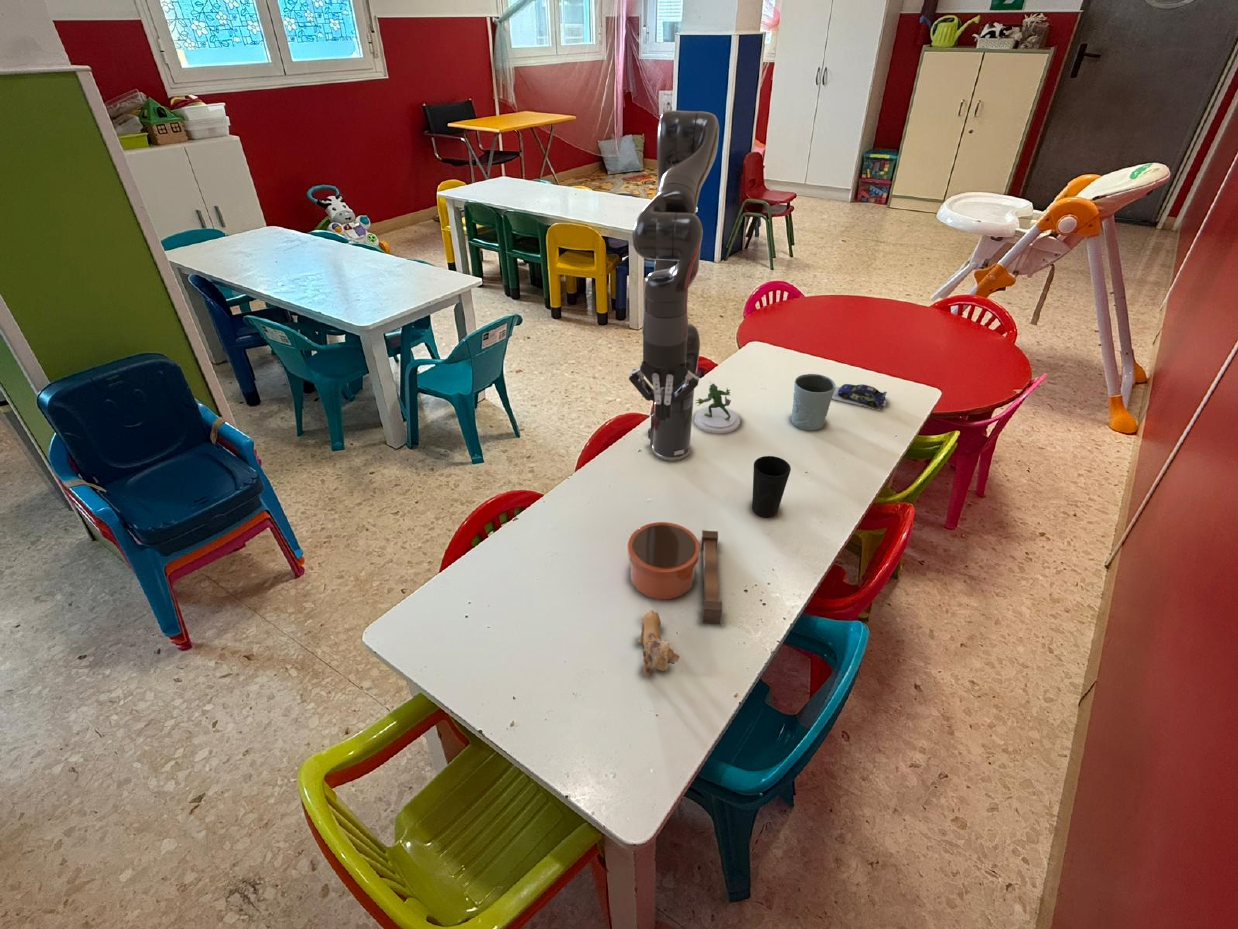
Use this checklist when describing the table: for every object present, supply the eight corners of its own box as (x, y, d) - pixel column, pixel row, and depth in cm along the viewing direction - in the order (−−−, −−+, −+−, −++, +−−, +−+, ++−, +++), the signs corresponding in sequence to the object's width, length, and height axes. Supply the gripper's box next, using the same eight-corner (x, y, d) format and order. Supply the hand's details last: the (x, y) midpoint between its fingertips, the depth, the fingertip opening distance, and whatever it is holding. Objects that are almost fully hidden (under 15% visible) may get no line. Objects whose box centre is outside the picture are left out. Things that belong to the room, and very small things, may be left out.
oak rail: (720, 624, 115) (722, 610, 112) (702, 622, 115) (704, 608, 113) (716, 544, 131) (717, 531, 129) (700, 543, 131) (702, 530, 129)
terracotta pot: (630, 604, 118) (631, 573, 114) (624, 553, 129) (624, 523, 125) (702, 599, 119) (705, 569, 114) (690, 549, 130) (693, 519, 125)
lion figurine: (679, 687, 104) (683, 652, 99) (648, 693, 103) (650, 659, 98) (655, 618, 116) (657, 584, 110) (627, 624, 115) (627, 590, 109)
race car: (828, 398, 179) (831, 384, 177) (833, 388, 184) (837, 374, 181) (883, 411, 174) (887, 397, 171) (887, 400, 178) (891, 386, 176)
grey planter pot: (831, 419, 170) (840, 379, 163) (819, 436, 164) (828, 396, 157) (795, 408, 175) (802, 369, 168) (782, 425, 168) (789, 385, 161)
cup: (782, 523, 137) (791, 479, 129) (746, 518, 138) (753, 474, 131) (782, 501, 143) (790, 457, 136) (747, 496, 144) (754, 453, 137)
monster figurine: (720, 405, 177) (724, 372, 170) (748, 425, 168) (753, 391, 162) (685, 417, 172) (688, 384, 166) (713, 438, 163) (716, 404, 157)
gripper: (706, 326, 109) (700, 410, 120) (630, 321, 111) (631, 404, 122) (702, 347, 103) (696, 433, 114) (622, 341, 105) (624, 426, 116)
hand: (663, 418), depth 118 cm, fingers closed
